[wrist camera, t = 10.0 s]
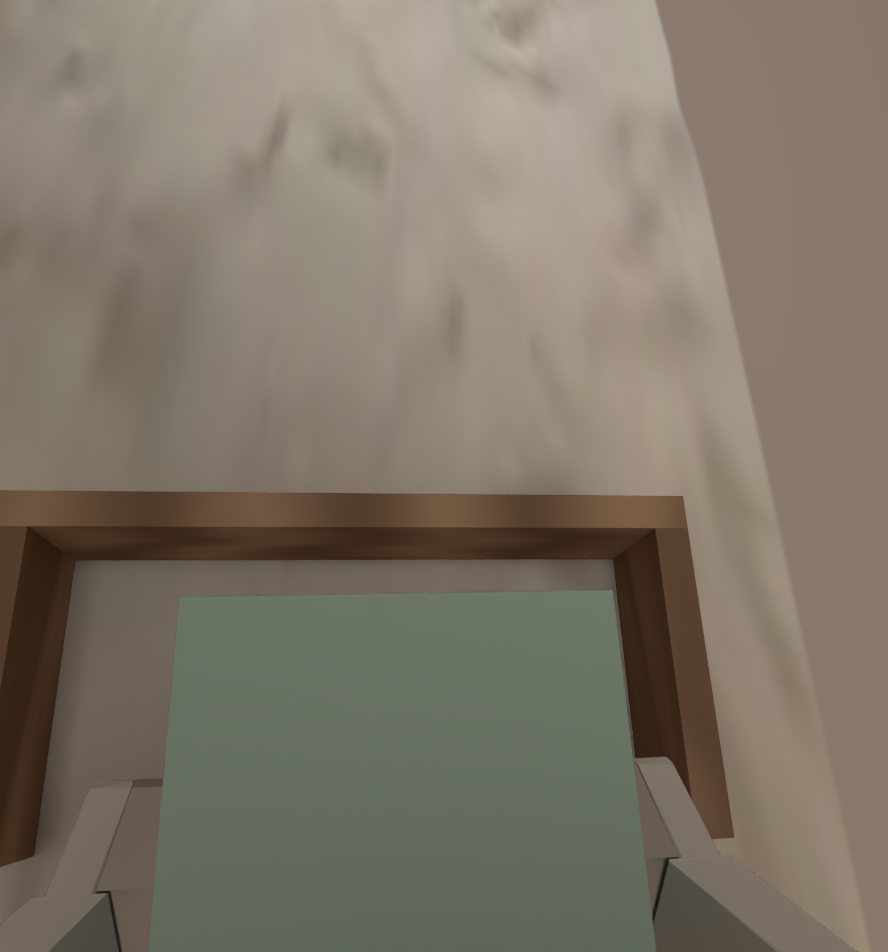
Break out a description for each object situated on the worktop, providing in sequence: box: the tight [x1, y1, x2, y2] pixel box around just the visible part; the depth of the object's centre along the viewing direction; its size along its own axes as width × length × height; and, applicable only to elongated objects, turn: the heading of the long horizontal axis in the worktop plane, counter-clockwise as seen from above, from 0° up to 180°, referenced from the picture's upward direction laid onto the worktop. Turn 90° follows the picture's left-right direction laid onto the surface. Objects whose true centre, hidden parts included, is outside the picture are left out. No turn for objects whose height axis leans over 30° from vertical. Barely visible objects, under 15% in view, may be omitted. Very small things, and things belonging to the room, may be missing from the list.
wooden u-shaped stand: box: [0, 490, 734, 867], centre depth 26 cm, size 23×11×4 cm, turn 92°
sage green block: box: [148, 590, 656, 952], centre depth 11 cm, size 4×4×8 cm
